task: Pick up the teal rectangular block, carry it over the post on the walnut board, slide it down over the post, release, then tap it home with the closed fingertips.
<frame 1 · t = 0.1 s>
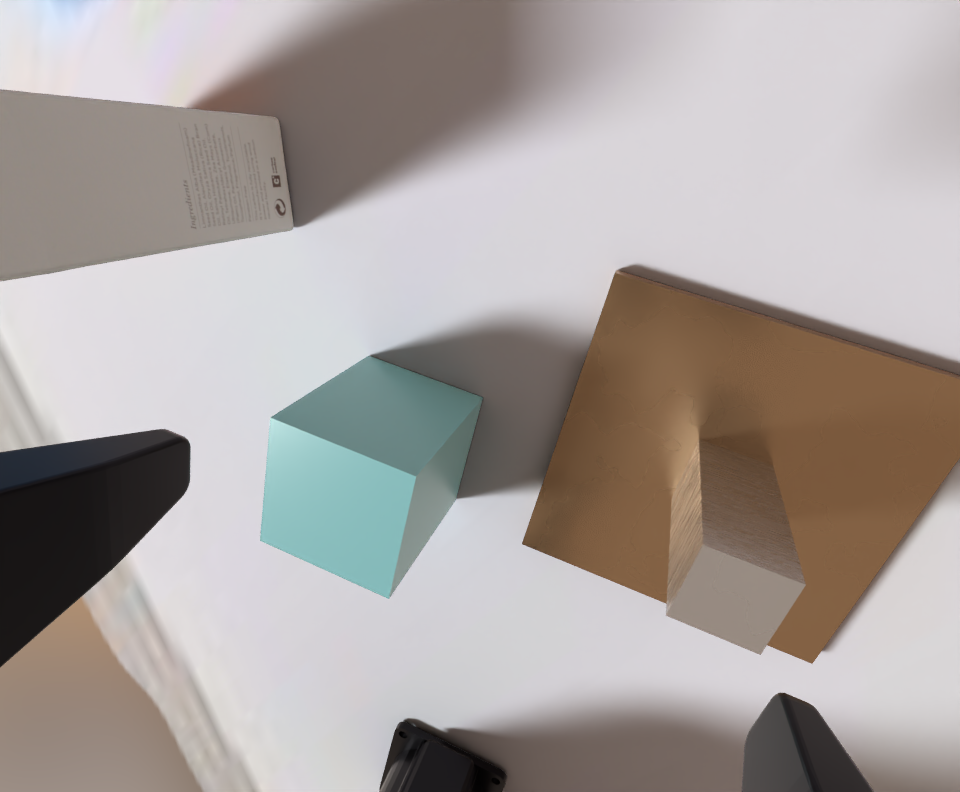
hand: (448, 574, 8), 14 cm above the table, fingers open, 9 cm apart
post: (719, 474, 22), on the table
teal rectangular block: (413, 429, 25), on the table
skincare box: (229, 175, 24), on the table
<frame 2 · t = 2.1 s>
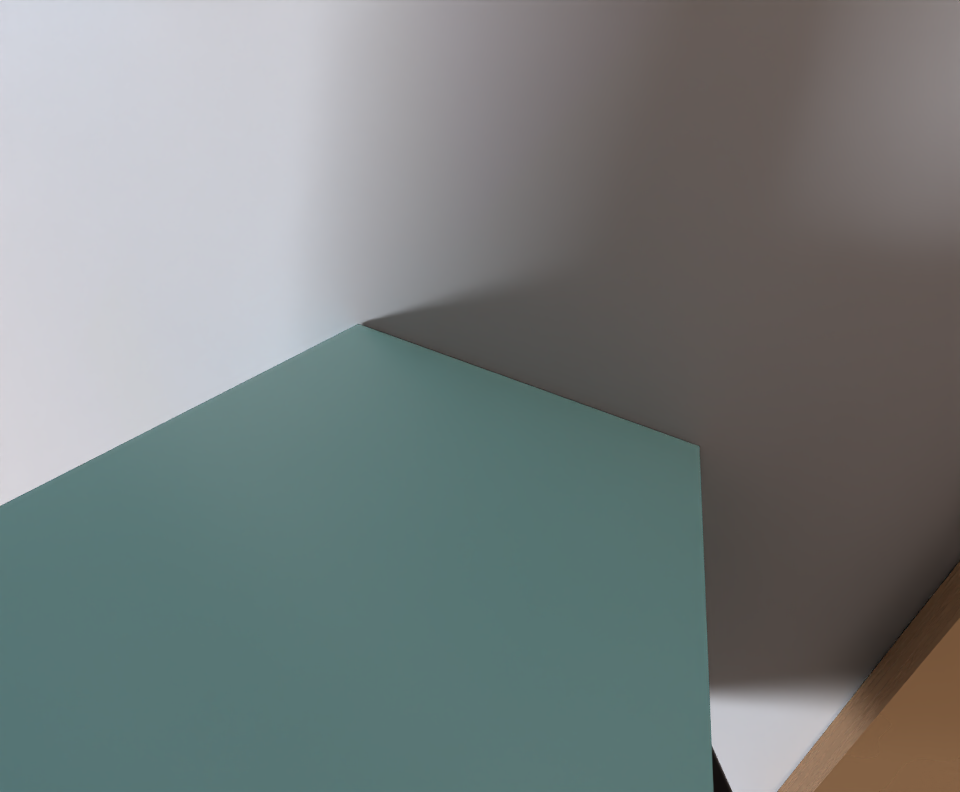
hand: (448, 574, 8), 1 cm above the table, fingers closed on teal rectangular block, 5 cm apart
teal rectangular block: (477, 522, 9), on the table, touching gripper
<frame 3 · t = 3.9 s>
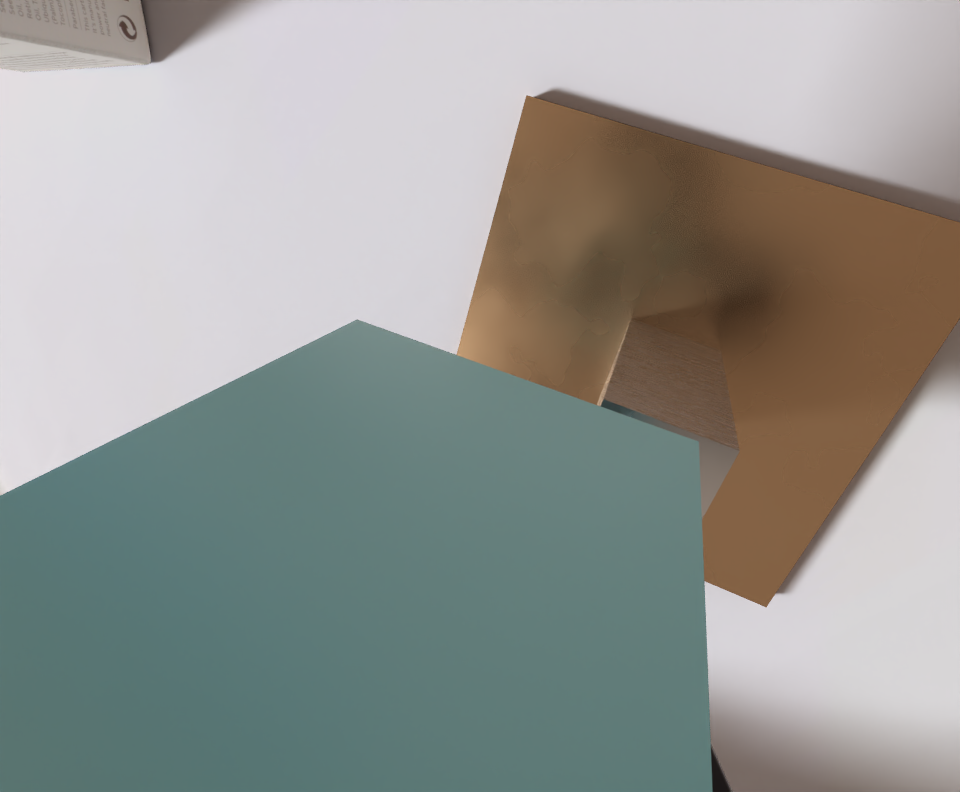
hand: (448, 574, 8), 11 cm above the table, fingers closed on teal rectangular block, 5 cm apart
post: (658, 368, 18), on the table
teal rectangular block: (476, 518, 9), point 10 cm above the table, touching gripper
when the fingers open (4 cm above the table, at t = 6.0 s): teal rectangular block drops 1 cm, resting on post.
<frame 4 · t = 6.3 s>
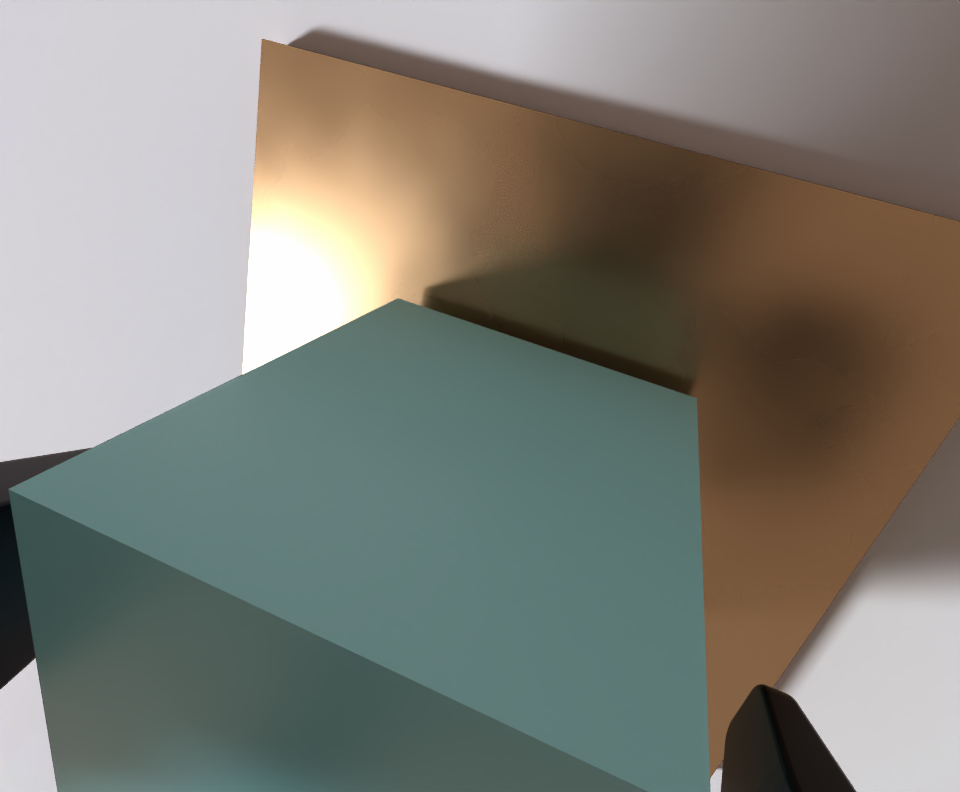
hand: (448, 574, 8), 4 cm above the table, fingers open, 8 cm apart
post: (517, 453, 12), on the table
teal rectangular block: (501, 474, 11), point 1 cm above the table, touching post
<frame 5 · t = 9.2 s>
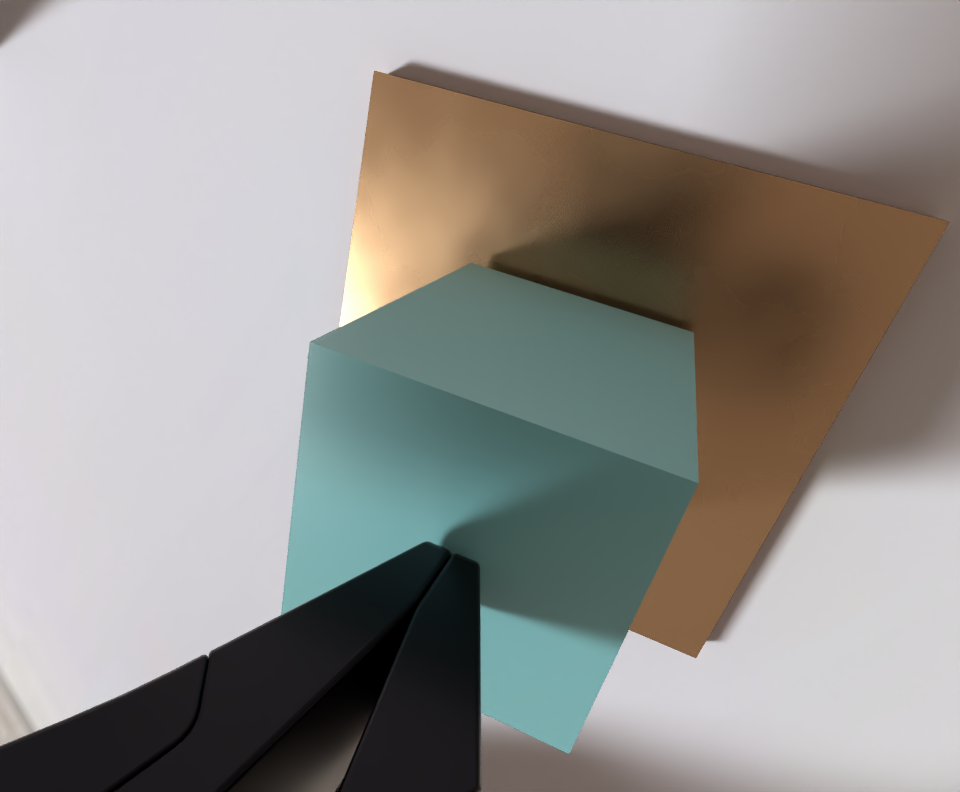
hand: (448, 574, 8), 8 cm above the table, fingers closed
post: (556, 386, 15), on the table
teal rectangular block: (546, 397, 14), point 1 cm above the table, touching post
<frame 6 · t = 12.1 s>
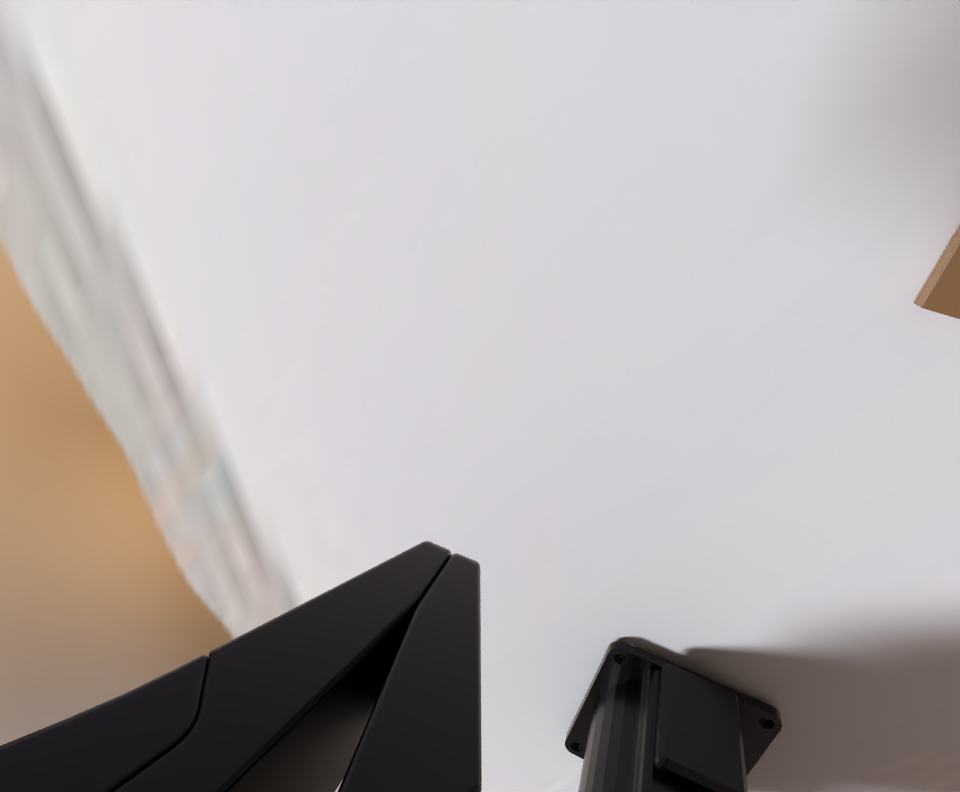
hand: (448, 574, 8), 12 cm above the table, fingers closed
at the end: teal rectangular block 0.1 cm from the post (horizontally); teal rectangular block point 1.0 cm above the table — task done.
